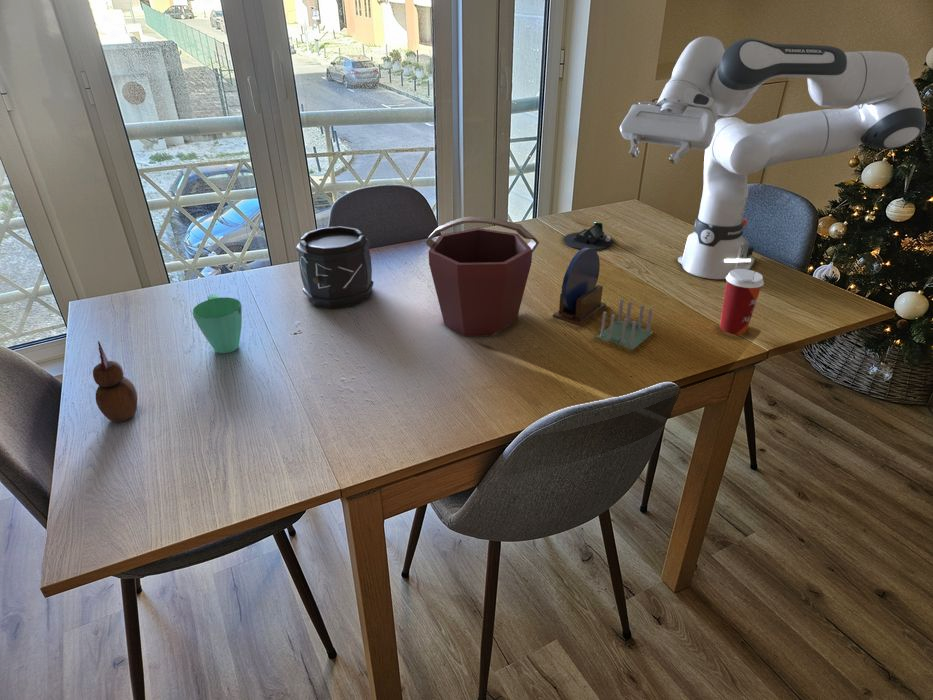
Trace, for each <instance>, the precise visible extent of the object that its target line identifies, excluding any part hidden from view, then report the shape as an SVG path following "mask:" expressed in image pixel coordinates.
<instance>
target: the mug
mask: <svg viewBox="0 0 933 700" xmlns="http://www.w3.org/2000/svg"><path fill="white" fill-rule="evenodd" d="M242 308H243V307H242V303H241V301H240V300H239V299H237V298H234V297H220V296H219V294H217V293H213V294H212V293H211V294H210V295H208V296H207V300H204V301H202V302H200V303H198V304H196V305H195V306H194V308H192V316H193V318H194V320H195V322H196V325H197V327H198V328H199V329H200V331H201V333H202V335H203V336H204V338H205V339H206V340H207V342H208V344H209V345H210V346H211V347H212V348H213V350H214V351H215V352H216V353H218V354H229V353H232V352H234V351H236V350H237V349H238V348H239V345H240V340H241V335H242V325H243V324H242V321H243V320H242V319H243V309H242Z"/></svg>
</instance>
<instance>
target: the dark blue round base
mask: <svg viewBox="0 0 933 700" xmlns="http://www.w3.org/2000/svg"><path fill="white" fill-rule="evenodd" d="M603 228H604V226H603V223H602V222H598V221H595V222H594V224H593V226H591V227H590V228H588V229H586V228H584V229H583V230H581V231H577V232H573V233H570V234H569V233H568V234H567V235H565V236H564V237H563V243H564V244H565V245H566V246H567V247H570V248H572V249H575V250H579V251H580V250H581V249H583V248H591V249H594V250H595V251H602V250H606V249H609V248H611V247H612V246H613V244H614V241H613V239H612V238H611V237H610V236H609V235H608V234H607V235H606V234H605V232H604V229H603Z"/></svg>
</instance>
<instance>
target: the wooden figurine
mask: <svg viewBox="0 0 933 700" xmlns="http://www.w3.org/2000/svg"><path fill="white" fill-rule="evenodd" d="M97 344H98V345H97V346H98V351H99V359H100V362H99V363H98V364H96V365H95V366H94V367H93V369H92V377H93V380H94V382H95V384H97V385H98V386H97V388H96V390H95V402H96V405H97V408H98V409H99V412H101V414H102V415H103V416H104V417H105V418H106V419H108V420H109V421H110V422H115V423H121V422H125V421H127V420H129V419H131V418H132V417H133V416H134V415H135V414H136V412H137V410H138V391H137V388H136V386H135V384H134V383H133V382H132V381H131V380H130V379H129V378H127V377H125V376H124V375H125V374H124V370H123V368H122V367H123V366H121V364H120V363H119V362H118V361H116V360H108V357H107V355H106V354H105V351H104V349H103V347H102V345H101V342H100V340H98V341H97Z"/></svg>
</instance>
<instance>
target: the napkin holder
mask: <svg viewBox="0 0 933 700" xmlns="http://www.w3.org/2000/svg"><path fill="white" fill-rule="evenodd" d="M603 286H604V285H600V284H597V285H596V287H595V288H593V289H591V290H590V291H588V292H587V293H585V294H584V295H582V296H581V297H579V298H578V299H577V302H576V311H571V310H568V309H566V308H565V306H564V305H563V302H562V292H561V293H560V295H559V307H558V310H557V311H556V312H555V313H553V314H552V317H553V318H556V319H558V320H562V321H564V322H568V323H571V324H572V325H573V324H574V325H577V326H581V324H583V323H584V322H585V321H587V320H588V319H590V318H591V317H593V316H594V315H595V314H597V313H598V312H600V311H601V310H603V308H605V307H606V306H607V303H606V302H602V297H603V290H604V289H603V288H604V287H603Z"/></svg>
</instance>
